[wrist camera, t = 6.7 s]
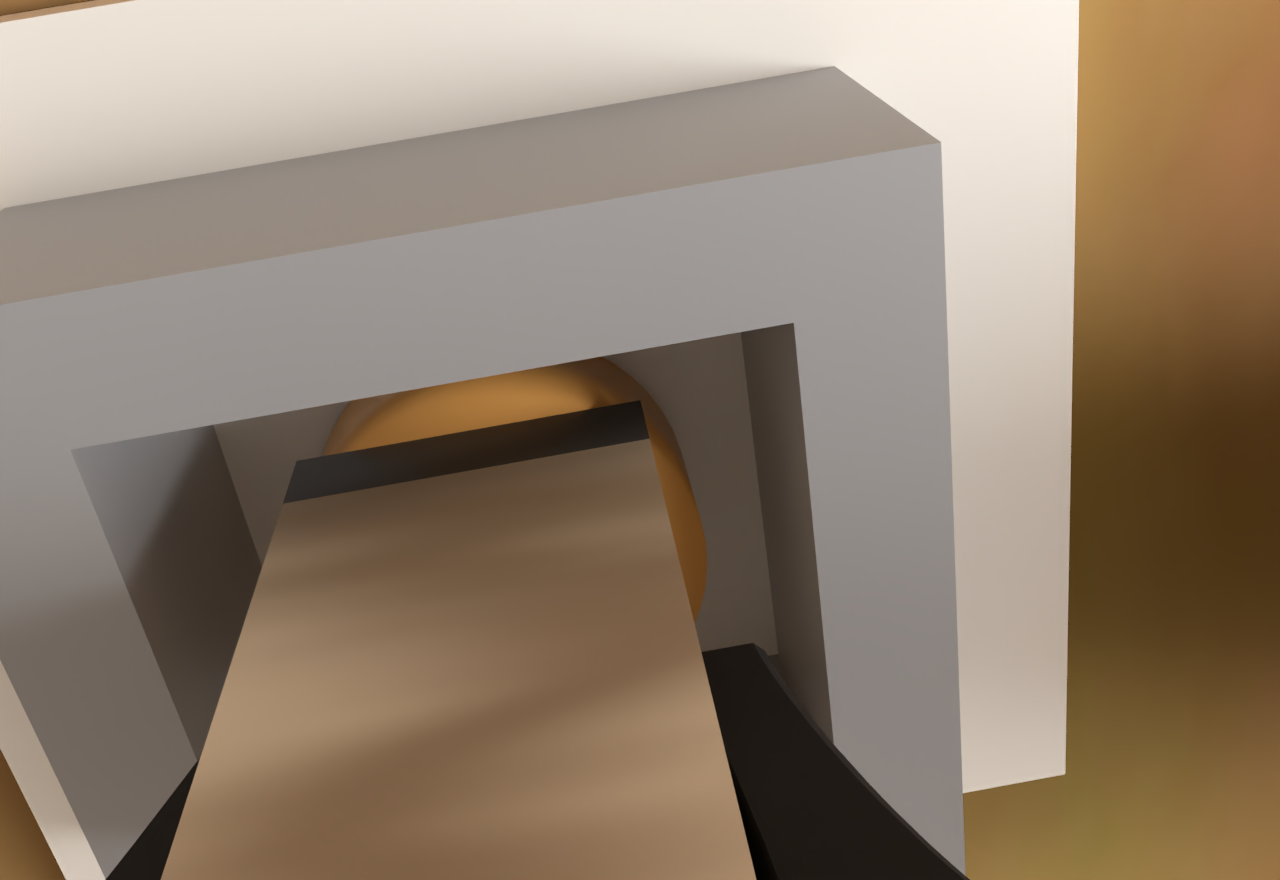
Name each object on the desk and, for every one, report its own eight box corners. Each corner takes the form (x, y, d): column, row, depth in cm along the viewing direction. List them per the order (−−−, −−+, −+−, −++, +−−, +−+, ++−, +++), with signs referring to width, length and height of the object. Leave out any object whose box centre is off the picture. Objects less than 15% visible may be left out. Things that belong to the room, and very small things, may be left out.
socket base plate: (1047, -160, 15) (1282, -154, 10) (1041, 734, 21) (1185, 975, 17) (-284, 63, 14) (-638, 168, 10) (119, 904, 21) (15, 1198, 16)
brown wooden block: (640, 400, 14) (822, 1151, 6) (685, 675, 16) (870, 1529, 8) (296, 460, 14) (25, 1305, 6) (381, 730, 16) (257, 1650, 8)
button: (660, 301, 16) (678, 358, 14) (707, 618, 18) (728, 701, 16) (272, 368, 16) (243, 434, 14) (368, 680, 18) (354, 769, 16)
